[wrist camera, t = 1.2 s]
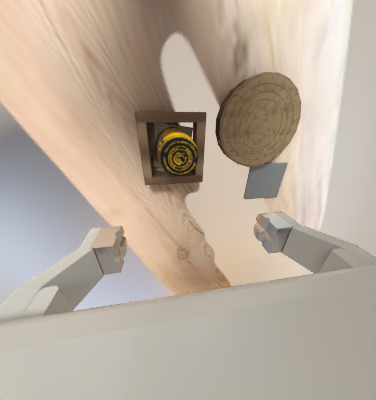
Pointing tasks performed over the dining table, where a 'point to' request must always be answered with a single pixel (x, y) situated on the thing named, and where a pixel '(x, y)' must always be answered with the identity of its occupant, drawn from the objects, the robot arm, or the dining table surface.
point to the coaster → (264, 180)
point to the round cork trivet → (258, 119)
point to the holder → (144, 143)
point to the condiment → (174, 149)
